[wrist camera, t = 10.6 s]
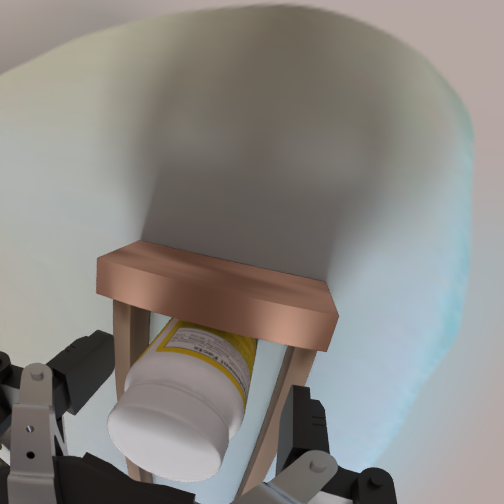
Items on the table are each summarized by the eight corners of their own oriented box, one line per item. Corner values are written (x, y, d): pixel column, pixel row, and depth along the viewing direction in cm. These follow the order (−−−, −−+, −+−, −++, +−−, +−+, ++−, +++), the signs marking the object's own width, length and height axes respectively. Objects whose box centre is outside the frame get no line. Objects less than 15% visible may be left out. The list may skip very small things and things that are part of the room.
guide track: (147, 508, 22) (137, 532, 18) (139, 240, 15) (97, 258, 11) (230, 531, 22) (224, 556, 18) (326, 281, 14) (338, 316, 10)
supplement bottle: (200, 378, 16) (150, 488, 8) (158, 312, 16) (71, 404, 8) (274, 354, 16) (259, 481, 7) (234, 279, 15) (176, 381, 7)
